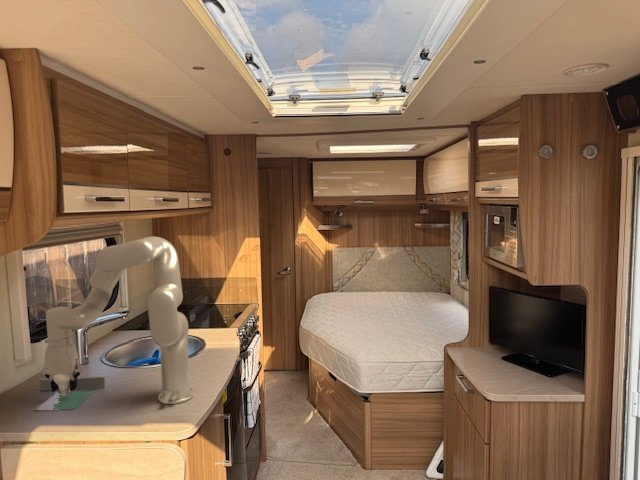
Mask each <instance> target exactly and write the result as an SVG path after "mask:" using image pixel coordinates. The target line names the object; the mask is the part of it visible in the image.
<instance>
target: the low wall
mask: <svg viewBox="0 0 640 480" xmlns="http://www.w3.org/2000/svg"><path fill="white" fill-rule="evenodd" d="M38 383H39V391H40V390H52V389H51V382H50V381H49V379H48V378H40V379H39V382H38ZM106 384H107V383H106V376H80V377H79V376H78V377H77V388H76V389H82V390H81V391H84V390H83V389H86V390H85V391H88V390H105V389H106V387H107V386H106ZM69 389H70V385H69ZM57 390H60V389H57Z"/></svg>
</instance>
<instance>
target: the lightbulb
mask: <svg viewBox="0 0 640 480" xmlns="http://www.w3.org/2000/svg"><path fill="white" fill-rule="evenodd" d="M53 380H54V382H55V383H56V384H57V385H58V387H59V389H60V391H59V392H60V396H62V397H66V396H67V395H69V392H70V390H69V385H70V380H71V378H70V376H69V374H57V375H53Z"/></svg>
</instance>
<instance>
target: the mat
mask: <svg viewBox="0 0 640 480" xmlns="http://www.w3.org/2000/svg"><path fill="white" fill-rule="evenodd" d="M93 393H94V390H85V391H84V390H77V391H69V395H67V396H66V397H62V396H60V395H59V397H60V398H57V399H59V400H58V401H60V402H58V404H53V405H55V406H53V407H55V408H53V409H54V410H55V409H58V410H57V411H73V410H76V409H77V408H78V407H79V406H80V405H82V404H83V402H85V401H86V399H88V398H89V397H90V396H91V395H92V394H93ZM59 394H60V393H59ZM59 409H60V410H59ZM33 410H38V409H35V408H34V409H33Z"/></svg>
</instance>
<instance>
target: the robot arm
mask: <svg viewBox="0 0 640 480" xmlns="http://www.w3.org/2000/svg"><path fill="white" fill-rule="evenodd" d="M177 252H178V251H177V250H176V248H175V247H174V245H173V244H172V243H171V242H170V241H168V240H166V239H165V238H163V237H160V236H154V235H153V236H146V237H143V238H139V239H135V240H132V241H128V242H123V243H121V244H114V245H110V246H107V247H103V248H102V249H100V251H98V253H97V254H96V258H95V263H96V268H95V270H94V271H93V272H92V274H91V276H90V277H89V280H88V281H89V284H90V286H91V289H90V291H89V293H88V295H87V297H86V298H85V300H84V301H83V303H82V304H80V305H78V306H76V307H74V308H71V309H70V308H69V307H68V306H56V307H51V308H49V309H47V310H46V311H45V319H46V320H45V321H46V332H47V338H45V339H44V343H45V344H47V346H46V347H45V352H44V366H43V368H42V369H41V370H40V371H39V372H40V374H42V375H43V376H44V377H45V379H47V378H48V379H49V381H50V382H51V389H52V391H51V392H52V393H55V392H57V391H56V390H57V389H59V387H58V385H57V384H56V383H55V382H54V380H53V375H57V374H69V376H70V378H71V380H70V390H69V392H75V391H76V390H75V389H76V388H77V377H79V376H80V375H81V374H82V373H83V372H84V371H85V370H86V367H84V365H82V364H81V363H80V360H79V354H78V349H77V347H76V344H75V343H73V342H74V341H73V331H74V330H76V331H78V330H82V329H83V328H85V327H87V326H88V325H90V324H91V323H93V322H95V321H97V319H99V317H100V316H101V315H102V313H103V311H104V310H105V308H106V306H107V305H108V303H109V302H110V299H111V297H112V295H113V290H114V288H115V286H116V285H117V283H118V282H119V280H120V279H121V277H122V276H123V274H124V272H125V271H126V269H130V268H134V267H138V266H142V265H146V264H148V263H151V262H154V264H155V265H154V276H155V277H154V278H155V290H153V291H152V292H151V294H150V295H149V297H148V300H147V313H148V320H149V329H150V336H151V339H152V342H154V344H155V345H157V346H159V347H160V349H159V350H160V351H159V353H160V369H161V386H162V387H161V389H162V391H161V392H160V393H159V394H158V396H157V398H158V399H157V400H158V402H160V403H162V404H165V405H176V404H182V403H184V402H187V401H189V400H190V399H192V398H193V397H194V395H195V389H194V388H192V387H190V385H191V384H190V373H189V372H190V370H189V369H190V368H189V344H188V343H189V320H188V319H187V317H186V316H185V314H184V313H183V312H180V311H178V307H179V306H180V305H181V304H182V302H183V299H184V295H183V294H184V293H183V287H182V278H181V271H180V262H179V255H178V253H177ZM77 370H78V371H77Z"/></svg>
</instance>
